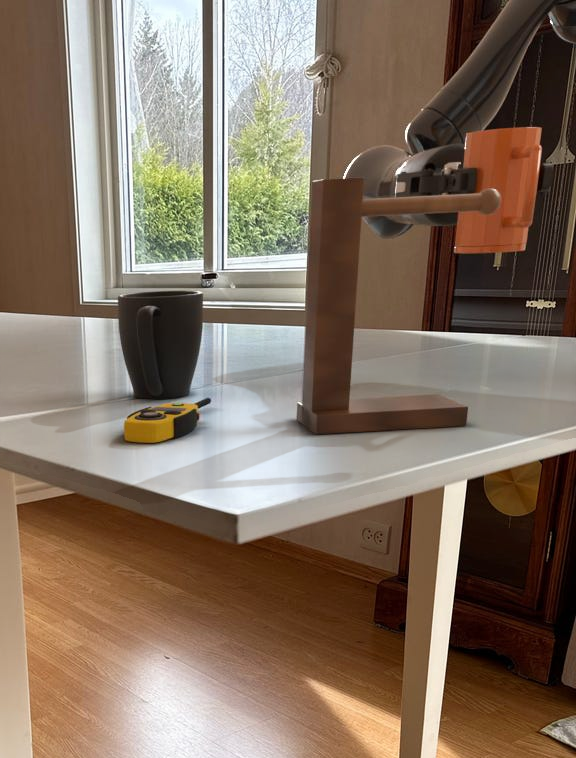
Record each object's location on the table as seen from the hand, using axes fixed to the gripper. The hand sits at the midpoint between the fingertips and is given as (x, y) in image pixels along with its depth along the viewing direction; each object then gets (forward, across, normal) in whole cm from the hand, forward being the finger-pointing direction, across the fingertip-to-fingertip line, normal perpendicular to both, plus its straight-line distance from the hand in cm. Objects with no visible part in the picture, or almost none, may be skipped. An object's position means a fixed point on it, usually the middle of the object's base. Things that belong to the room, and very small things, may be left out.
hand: (509, 179), depth 82 cm
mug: (-3, -32, +18) cm, 37 cm away
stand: (+15, -16, +18) cm, 28 cm away
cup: (0, 0, +6) cm, 6 cm away
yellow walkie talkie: (+11, -32, +18) cm, 38 cm away
